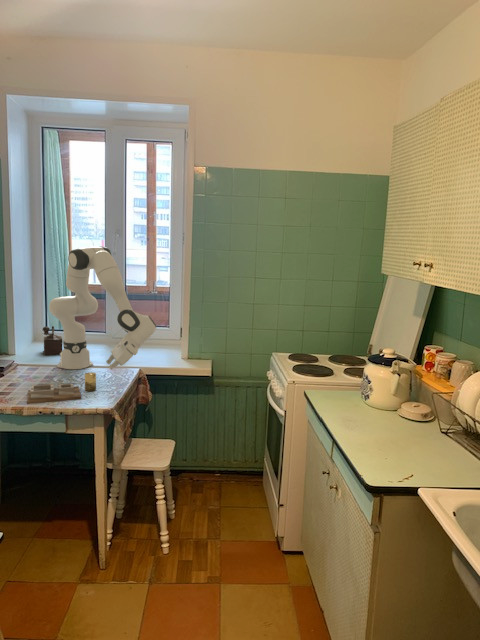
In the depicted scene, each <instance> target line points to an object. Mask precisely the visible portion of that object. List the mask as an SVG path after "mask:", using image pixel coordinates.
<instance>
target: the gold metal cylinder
mask: <svg viewBox="0 0 480 640" xmlns="http://www.w3.org/2000/svg"><path fill="white" fill-rule="evenodd" d="M84 391H85V392H87V393H94V392H96V391H97V373H96V372H92V371H91V372H85V373H84Z"/></svg>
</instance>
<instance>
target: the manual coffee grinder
mask: <svg viewBox="0 0 480 640" xmlns="http://www.w3.org/2000/svg"><path fill="white" fill-rule="evenodd" d="M50 330H51V333H50V332H49V331H50ZM42 331H43V335H44V336H43V351H42V353H43V355H44V356H58V355H59V356H60V353H61V352H62V351H63V337H62V336H61V335H57V334H55V326H53V325H52V326H51V329H50V327H49V326H44V327H43V328H42Z"/></svg>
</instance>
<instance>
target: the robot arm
mask: <svg viewBox="0 0 480 640" xmlns="http://www.w3.org/2000/svg"><path fill="white" fill-rule="evenodd" d="M67 257H68V258H67V261H68V266H67V269H66V271H67V272H66V280H65V286H66V288H67V289H68V290H69V291H70V292H72V293H74V295H69V296H68V295H66V296H58V297H55V298H52V299H51V301H50V302H49V306H48V308H49V311H50V313H51V315H52V316H53V317H55V318H56V319H57V320H58V321H59V322H60V324H61V326H62V328H63V330H62V331H63V339H64V340H63V341H62V348H63V349H62V352H61V353H60V355H59V358H60V360H59V362H58V363H57V366H56V367H57V368H62V369H67V370H81V369H82V370H83V369H85V368H88V367H91V366H94V363H93V362H92V361H91V360H90V358H91V357H90V355H91V353H90V350H89V349H88V348H87V344H88V343H87V340H86V327H85V325H84V324H82V323H80V322H79V321H76V319H75V318H76V317H80V316H81V317H83V316H90V315H93V314H95V313H97V310H98V309H99V302H98V300H97V298H96V297H95V296H93V295H92V294H91V292H90V290H89V282H90V271H91V270H94V272H95V274H96V277H97V280H98V281H99V284H100V285H101V287H102V288H103V289H104V290H105V291H106V292H107V293H108V294H109V295H110V296H111V298H112V299H113V300H114V301H115V304H116V305H117V308H118V310H119V313H118V315H117V323H118V325H119V326H120V328H122V329H123V330H124V332H126V334H125V335H124V337H123V338H122V339H120V342H119V343H117V344H116V346H114V347H113V348H112V349H111V351H110V353H111V354H110V356H109V357H108V359H107V360H106V364H107V365H109V366H108V367H109V369H110V370H111V371H112V370H114V368H116V367H117V366H124V365H125V364H126V363H128V362H129V361H130V359H132V358H133V356H136V355H137V354H138V351H139V349H140V348H141V347H142V346H143V344H144V343H145V342H146V341H147V340H149V339H150V338H151V336H152V335H153V334H154V333H155V332H156V330H157V325H156V323H155V321H154V320H153V319H152V317H151V316H149V315H145V314H142V313H138V312H136V311H134V310H135V309H133V307H132V303H131V302H130V300H129V298H128V296H127V292H126V289H125V285H124V282H123V281H124V280H123V276H122V274H121V271H120V269H119V267H118V264H117V262H116V261H115V259H114V257H113V255H112V252H111V250H110V248H108V247H106V246H101V245H100V246H88V247H87V246H86V247H81V248H79V247H78V248H74V249H72V250H70V251H69V254H68V256H67ZM113 360H114V361H113ZM112 361H113V362H112Z"/></svg>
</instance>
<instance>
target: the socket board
mask: <svg viewBox="0 0 480 640" xmlns="http://www.w3.org/2000/svg"><path fill="white" fill-rule="evenodd" d="M57 386H58V387H55V388H54V383H49V384H35V385H30V389H28V390H27V402H26V403H27V404H28V405H29V404H38V403H40V404H41V403H51V402H61V401H62V402H63V401H72V400H73V401H75V400H81V399H82V395H81V389H80V386H78V385H77V386H75V385H74V383H62V384H61V383H60V384H58V385H57Z"/></svg>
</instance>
